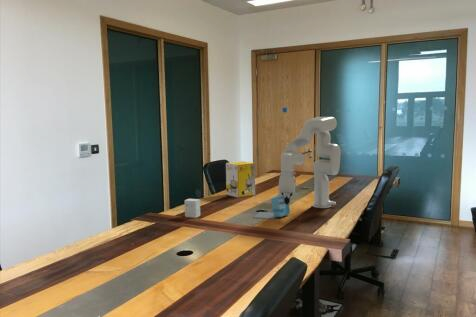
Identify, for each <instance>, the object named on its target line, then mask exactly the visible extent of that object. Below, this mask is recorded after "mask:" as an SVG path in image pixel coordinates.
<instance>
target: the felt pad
mask: <svg viewBox="0 0 476 317" xmlns="http://www.w3.org/2000/svg"><path fill="white" fill-rule="evenodd" d="M252 218H254V219H256V218H257V219H266V220H275V219H276V218H277V217H274V214H273V212H269V211H268V212H267V211H259V212H257V213H256V214H255V215H254V216H253V217H252Z"/></svg>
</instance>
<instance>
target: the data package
mask: <svg viewBox="0 0 476 317" xmlns="http://www.w3.org/2000/svg"><path fill="white" fill-rule="evenodd" d="M287 197H288V195H287ZM271 206H272V213H273V214H274V217H276V218H283V217H285V216H288V215H290V213H291V210H290V209H291V208H290V203H289V204H285V202H284V196H283V195H281V194H280V195H277V196H273V197H272V198H271Z"/></svg>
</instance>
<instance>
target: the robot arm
mask: <svg viewBox="0 0 476 317" xmlns="http://www.w3.org/2000/svg"><path fill="white" fill-rule="evenodd" d="M337 121H338V120H337V119H336V117H333V116H316V117H313V118H310V119H307V120H306V121H305V122H304V124H303V126H302V127H301V130H300V132H299V133H298V136H297V137H295V138H294V139H292V140H291V141H290V142H289V143H288V144H287V145H286V146H285V148H284V150H283V152H282V153H281V154H280V175H279V180H278V188H277V189H278V192H277V193H278V195H280V196H281V195H283V196H284V202H285V204H289V205H290V203H291V197H292V196H295V195H297V192H296V191H297V182H296V180H297V179H296V176H295V175H296V174H297V172H295V170H294V168H295V167H294V165H297V166H298V165H299V166H300V165H302V164H303V163H304V162H305V161H306V160H305V159H306V158H305V155H304V153H302V152H298V151H297V150H298V149H300V148H304V147H305V146H308V145H310V143H311V141H312V140H313V137H314V136H315V134H316V136H317V142H316V155H317V157H319V158H325V159H317V160H315V161H314V162H313V164H312V168H313V169H312V170H313V175H314V176H313V177H314V201H313V202H314V203H312V204H311V206H312V207H313V208H317V209H328V208H331V207H332V205H334V206H335V205H337V204H336V201H333V200H330V178H329V177H328V175H329V176H337V175H338V174H339V172H340V167H341V156H342V153H341V152H342V151H341V147H340V145H339V144H336V143H331V139H332V138H331V133H330V131H333V130H335V129H336V127H337V126H338V122H337ZM329 159H330V160H329ZM287 196H288V197H287Z"/></svg>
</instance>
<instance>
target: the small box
mask: <svg viewBox="0 0 476 317" xmlns="http://www.w3.org/2000/svg"><path fill="white" fill-rule="evenodd" d="M183 201H184V216H185V218H198V217H200V216H201V199H199V198H187V199H185V200H183Z"/></svg>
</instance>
